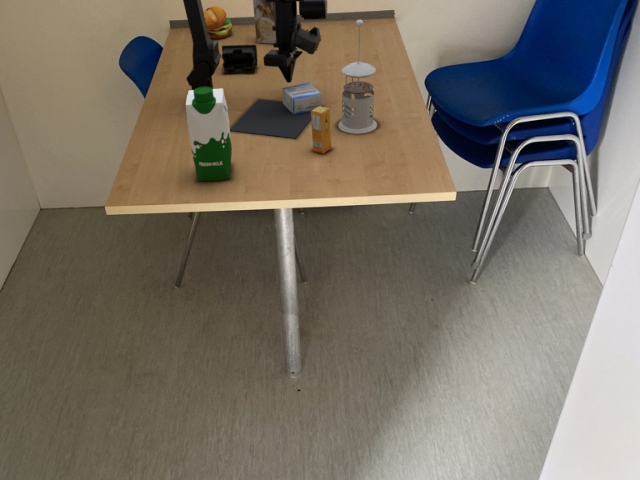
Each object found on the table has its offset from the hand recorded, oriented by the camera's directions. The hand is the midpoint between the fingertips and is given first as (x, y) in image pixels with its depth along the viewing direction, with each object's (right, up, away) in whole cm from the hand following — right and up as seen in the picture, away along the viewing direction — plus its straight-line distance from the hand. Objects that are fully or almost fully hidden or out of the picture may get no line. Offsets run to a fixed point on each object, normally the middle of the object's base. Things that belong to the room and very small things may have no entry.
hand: (289, 82), depth 179 cm
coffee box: (-6, +29, +42) cm, 51 cm away
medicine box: (+2, -2, +2) cm, 3 cm away
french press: (+17, -14, -8) cm, 23 cm away
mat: (-3, -11, -4) cm, 12 cm away
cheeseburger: (-24, +34, +48) cm, 64 cm away
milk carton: (-17, -30, -24) cm, 42 cm away
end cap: (-15, +13, +24) cm, 31 cm away
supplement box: (+8, -23, -18) cm, 30 cm away
